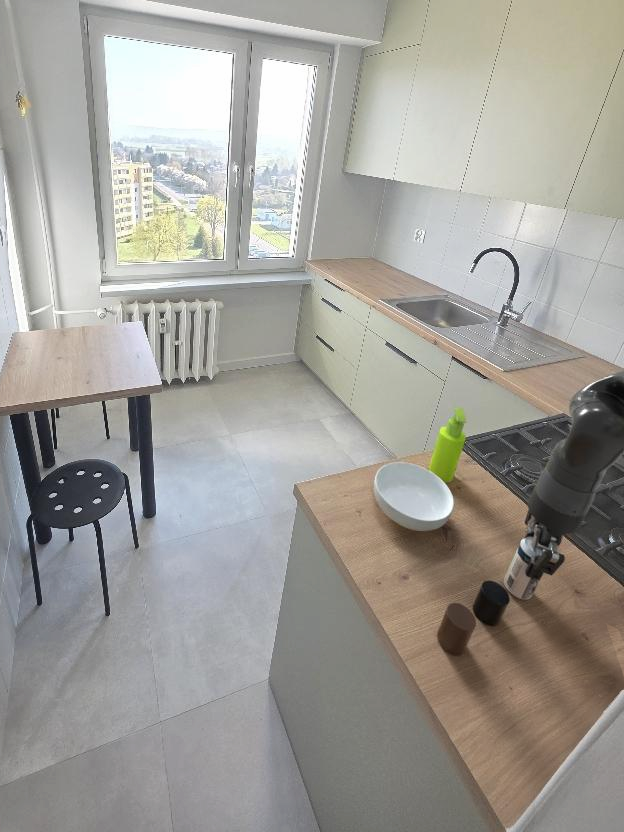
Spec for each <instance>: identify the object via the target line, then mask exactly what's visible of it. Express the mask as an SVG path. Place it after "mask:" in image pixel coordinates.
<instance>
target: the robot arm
mask: <svg viewBox="0 0 624 832" xmlns="http://www.w3.org/2000/svg"><path fill="white" fill-rule="evenodd" d="M568 411H569V416H570V420H571V426H570V430H569V433H568V434H567V437H566V438H564V439H562V440H559V441H558V442H557V443H556V445H555V446H554V448H553V450H552V452H551V454H550V457H549V459H548V460H547V463H546V465H545V467H544V468H543V470H542V471H541V473H540V475H539V476H538V479H537V481H536V483H535V486H534V488H533V490H532V493H531V494H530V497H529V499H528V501H527V508H528V510H527V513H526V516H525V519H524V525H525V526H526V528H525V530H524V533H525V536H524V538H523V539H525V538H527V537H533V541H532V544H531V547H532V549H533V554H532V558H531V560H530V562H529V564H528V566H527V568H526V570H525V573H526V576H527V577H530V578H532V579H535V580H540V581H541V579H542V577H543V575H544V574H546V575H549V576H553V575H554V574H555V572H557V570H558V569H560V567H561V566H562V565H563V563H564V562H565V560H566V557H565V554H562V553H559V547H560V546H561V544H563V543H562V542H563V539H564V535H570V534H574V533H577V532H578V531H579V530H580V527H581V526H582V524H583V522H584V520H585V519H586V516H587V514H588V512H589V510H590V509H591V506H592V504H593V503H594V501H595V499H596V493H597V491H598V488H599V487H600V484H601V483H602V481H603V479H604V477H605V475H606V473H607V470H608V469H609V468H611V467H612V466H613V465H614V464H615V463H616V462H617V461H619V459H620V458H621V457H622V456H623V455H624V369H623V370H620V371H617V372H614V373H611V374H608V375H607V376H604V377H602V378H599V379H598V380H595V381H593V382H590V383H588V384H587V385H585V386H583V387H581V388H580V389H579V390H578V391H577V392H576V393H574V395H573V396H572V397H571V399H570V401H569V403H568ZM538 543H539V544H540V545H542V546H545V547H548V549H546V548H543V547H540V546H538ZM539 554H541V556H540V557H539V558H538V555H539ZM541 576H542V577H541ZM540 578H541V579H540Z"/></svg>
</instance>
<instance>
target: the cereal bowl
mask: <svg viewBox="0 0 624 832" xmlns="http://www.w3.org/2000/svg"><path fill="white" fill-rule="evenodd" d="M373 492H374V493H373V494H374V497H375V500H376V503H377V504H378V506H379V508H380V510H381V511H382V512H383V513H384V514H385V515H386V516H387V517H388V518H389V519H390V520H392V522H394V523H395V524H398V525H399V526H401V527H403V528H406V529H408V530H411V531H417V532H431V531H434V530H437V529H440V528H442V527H443V526H444V525H445V524H446V523H447V522H448V521H449V520H450V517H451V516H452V513H453V510H454V506H455V500H454V496H453V494H452V492H451V490H450V488H449V486H448V485H447V484H446V482H443V481H442V480H441V479H440V478H439V477H438V476H436V475H435V474H434V473H432V472H431V471H429V470H428V469H427V468H425V467H422V466H421V465H418V464H414V463H410V462H404V461H395V462H390V463H386V464H384V465H382V466H381V467H380V468H378V470H377V472H376V473H375V477H374V481H373Z"/></svg>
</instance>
